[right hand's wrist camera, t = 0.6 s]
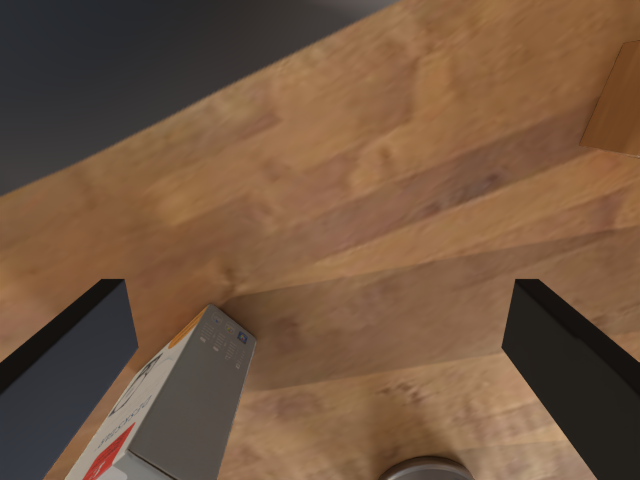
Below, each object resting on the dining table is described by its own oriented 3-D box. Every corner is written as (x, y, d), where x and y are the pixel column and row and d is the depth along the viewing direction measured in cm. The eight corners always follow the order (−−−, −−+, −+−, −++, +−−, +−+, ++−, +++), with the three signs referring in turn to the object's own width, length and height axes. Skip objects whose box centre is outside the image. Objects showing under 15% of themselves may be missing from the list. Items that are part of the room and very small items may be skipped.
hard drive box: (210, 299, 44) (129, 448, 25) (259, 338, 46) (217, 503, 27) (132, 374, 48) (13, 552, 29) (180, 408, 50) (97, 594, 31)
